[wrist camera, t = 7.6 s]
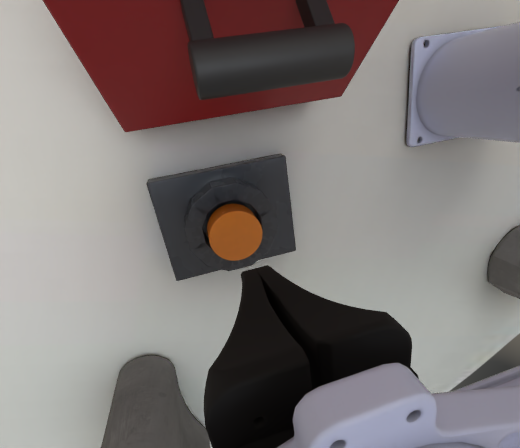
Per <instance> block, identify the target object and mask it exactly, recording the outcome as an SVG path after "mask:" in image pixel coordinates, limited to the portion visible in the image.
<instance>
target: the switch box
mask: <svg viewBox="0 0 520 448" xmlns="http://www.w3.org/2000/svg"><path fill="white" fill-rule="evenodd" d="M147 187H148V190H149V193H150V196H151V200H152V203H153V206H154V209H155V213H156V216H157V219H158V222H159V226H160V229H161V232H162V235H163V238H164V242H165V245H166V248H167V251H168V255H169V258H170V261H171V264H172V268H173V271H174V274H175V277H176V280H177V281H179V280H183V279H187V278H191V277H194V276H198V275H202V274H206V273H210V272H214V271H218V270H227V271H231V270H235V269H239V268H243V267H247V266H251V265H253V264H254V263H255V262H256V261H257V260H260V259H264V258H268V257H272V256H276V255H280V254H284V253H287V252H291V251H295V250H296V247H295V238H294V229H293V220H292V211H291V202H290V193H289V184H288V175H287V166H286V157H285V156H284V155H282V154H276V155H271V156H266V157H261V158H256V159H251V160H246V161H241V162H236V163H230V164H225V165H220V166H215V167H210V168H205V169H200V170H195V171H190V172H184V173H179V174H174V175H169V176H164V177H159V178H154V179H149V180H148V182H147ZM226 204H241V205H243V206H245V207H247V208H249V209H250V210H251V211H252V212H253V214H254V215H255V217H256V218H257V219H258V221H259V222H260V224H261V227H262V233H263V234H262V241H261V243H260V245H259V247H258V249H257V250H256V251H255V252H254V253H253V254H252V255H250V256H249V257H247V258H245V259H242V260H237V261H231V260H226V259H223V258H221V257H219V256H218V255H217V254H216V253H215V252H214V251H213V250H212V248H211V246H210V243H209V238H208V233H207V224H208V220H209V218H210V216H211V215H212V214H213V212H214V211H215V210H217V209H218V208H219V207H221V206H223V205H226Z"/></svg>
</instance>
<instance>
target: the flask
mask: <svg viewBox="0 0 520 448" xmlns="http://www.w3.org/2000/svg"><path fill="white" fill-rule="evenodd" d="M101 448H210V443H209V436H208V433H207V430H206V429H205V428H204V427H203V426H202V425H201V424H200V423H199V422H198V421H197V420H196V419H195V418H194V417H193V415H192V414H191V413H190V411H189V409H188V408H187V406H186V405H185V402H184V400H183V398H182V396H181V393H180V390H179V387H178V382H177V377H176V372H175V367H174V366H173V365H172V363H171V362H170V361H169V360H167V359H165V358H162V357H160V356H144V357H140V358H136V359H134V360H132V361H131V362H129V363H127V364H126V365H125V366H124V367H123V368H122V370H121V371H120V373H119V376H118V379H117V384H116V388H115V392H114V396H113V400H112V404H111V409H110V413H109V417H108V421H107V425H106V429H105V434H104V438H103V442H102V446H101Z"/></svg>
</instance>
